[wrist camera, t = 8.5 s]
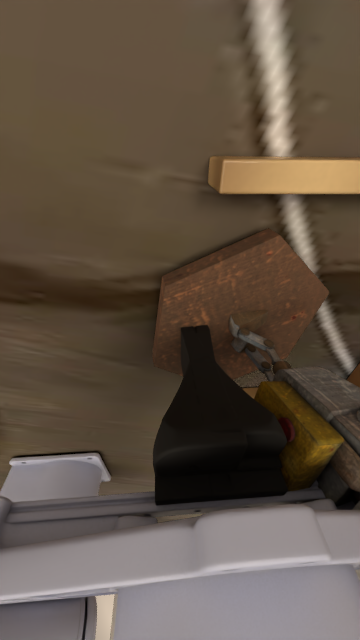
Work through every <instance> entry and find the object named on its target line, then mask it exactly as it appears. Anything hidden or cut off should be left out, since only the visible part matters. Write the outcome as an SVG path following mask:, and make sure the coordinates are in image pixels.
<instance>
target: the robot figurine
mask: <svg viewBox="0 0 360 640" xmlns="http://www.w3.org/2000/svg"><path fill="white" fill-rule="evenodd" d="M329 293H330V292H329V291H328V290H327V288H326V287H325V286H324V285H323V284H322V283H321V282H320V280H319V279H318V278H317V277H316V276H315V275H314V274H313V272H312V271H311V270H310V269H309V268H308V267H307V265H306V264H305V263H304V262H303V261H302V260H301V259H300V257H299V256H298V255H297V254H296V253H295V252H294V251H293V249H292V248H291V247H290V246H289V245H288V244H287V243H286V241H285V240H284V239H283V238H282V237H281V236H280V235H279V234H277V233H276V232H274V231H272V230H271V229H269V228H268V229H266V230H263V231H261V232H259V233H257V234H254V235H252V236H250V237H248V238H246V239H243V240H241V241H239V242H237V243H234V244H232V245H230V246H228V247H226V248H223V249H221V250H219V251H217V252H214V253H212V254H210V255H208V256H206V257H203V258H201V259H199V260H197V261H195V262H192V263H190V264H188V265H186V266H183V267H181V268H179V269H177V270H175V271H172V272H170V273H168V274H166V275H163V276H162V281H161V289H160V297H159V305H158V313H157V321H156V329H155V337H154V345H153V353H152V355H153V361H154V366H155V367H158V368H161V369H164V370H167V371H170V372H173V373H176V374H179V375H182V376H183V372H182V367H181V327H190V326H193V327H194V328H195V327H196V326H199V325H208V327H209V329H210V334H211V339H212V345H213V351H214V357H215V361H216V362H217V363H218V365H219V366H220V367H221V368H222V369H223V370H224V371H225V373H226V374H227V375H228V376H229V377H230V378H231V379H232V380H233V379H236V378H238V377H241V376H243V375H246V374H248V373H250V372H253V371H255V370H258V369H259V370H260V371H261V372H262V373H265V375H266V377H267V379H268V381H264V382H261V384H260V385H259V387H258V390H257V392H256V395H255V398H254V399H255V400H256V401H257V402H258V403H260V404H261V405H262V406H264V407H265V408H267V409H268V410H269V411H271V412H272V413H274V415H275V416H276V418H277V420H278V422H279V423H280V425H281V427H282V429H283V431H284V433H285V436H286V438H287V443H286V446H285V447H284V449H283V450H282V452H281V453H280V455H279V458H280V461H281V463H282V468H280V469H281V471H282V474H283V477H284V480H285V482H286V485H287V488H288V490H289V491H296V490H301V489H306V488H310V487H311V486H312V485H313V483H314V482H315V481H316V480H317V482H318V488H319V489H321V490H322V491H323V493H324V495H325V499H331V500H332V501H334V503H335V505H336V507H338V506H340V505H343V504H346V503H349V502H351V501H353V502H354V504H355V505H356V506H355V507H354V508H353V509H352V510H360V387H358V386H356V385H354V384H352V383H351V382H349V381H347V380H345V379H343V378H341V377H340V376H338V375H336V374H334V373H332V372H330V371H329V370H327V369H324V368H322V367H307V368H294V369H291V366H290V365H289V364H288V363H287V362H285V361H283V359H285V358H287V356H288V355H289V353H290V352H291V350H292V349H293V347H294V346H295V344H296V343H297V341H298V340H299V338H300V336H301V335H302V333H303V332H304V330H305V329H306V327H307V326H308V324H309V323H310V321H311V320H312V318H313V317H314V315H315V314H316V312H317V311H318V309H319V308H320V306H321V305H322V303H323V302H324V300H325V299H326V297H327V296H328V294H329ZM270 364H272V365H274V366H273V373H274V374H275V376H274V375H273V373H272V371H271V365H270ZM315 500H319V499H315ZM315 500H313V501H315Z"/></svg>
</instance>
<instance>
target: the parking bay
mask: <svg viewBox="0 0 360 640" xmlns="http://www.w3.org/2000/svg"><path fill="white" fill-rule="evenodd" d="M208 184H209V185H210V186H211V187H213V188H214V189H215V190H216V191H217V192H219V193H220V194H360V157H259V156H211V157H210V162H209V175H208ZM347 381H349V382H351V383H352V384H354V385H356V386H358V387H360V363H359V364H358V366H357V367H356V368H355V370H354V371H353V372H352V374H351V375H350V376H349V377H348V379H347ZM242 389H243V390H244V391H245V392H246V393H247V394H249V395H250V396H251V397H252V398H253V399H254V398H255V395H256V392H257V390H258V387H254V388H242Z"/></svg>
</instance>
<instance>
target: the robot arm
mask: <svg viewBox="0 0 360 640" xmlns="http://www.w3.org/2000/svg"><path fill="white" fill-rule="evenodd" d="M181 367H182V372H183V380H182V383H181V385H180V387H179V389H178V391H177V393H176V395H175V397H174V399H173V401H172V403H171V405H170V407H169V409H168V410H167V412H166V414H165V415H164V417H163V419H162V422H161V425H160V428H159V430H158V433H157V436H156V440H155V444H154V449H153V466H154V472H155V492H142V493H128V494H115V495H102V496H98V493H99V487H100V482H104V481H110V479H111V476H110V474H109V472H108V470H107V468H106V466H105V464H104V462H103V461H102V459H101V457H100V455H99V454H98V453H83V454H68V455H52V456H37V457H21V458H12V459H11V460H10V462H9V463H10V464H11V465H12V468H11V470H10V472H9V474H8V476H7V478H6V480H5V483H4V485H3V487H2V489H1V491H0V640H95V633H96V622H97V606H96V605H97V603H96V597H95V596H98V595H110V594H118V598H117V608H116V618H115V628H114V638H113V640H360V580H359V578H358V576H357V573H356V571H355V570H360V510H352V509H353V508H354V507H355V506H356V505H355V504H354V502H353V501H351V502H349V503H346V504H343V505H340V506H338V507H336V505H335V503H334V501H332V500H331V499H325V495H324V493H323V491H322V490H321V489H319V488H318V482H317V480H316V481H315V482H314V483H313V485H312V486H311V487H310V488H306V489H301V490H296V491H289V490H288V488H287V485H286V482H285V480H284V477H283V474H282V471H281V469H280V468H282V463H281V461H280V458H279V455H280V453H281V452H282V450H283V449H284V447H285V446H286V443H287V438H286V436H285V433H284V431H283V429H282V427H281V425H280V423H279V422H278V420H277V418H276V416H275V415H274V413H272V412H271V411H269V410H268V409H267V408H265V407H264V406H262V405H261V404H260V403H258V402H257V401H256V400H255V399H253V398H252V397H251V396H250V395H249V394H247V393H246V392H245V391H244V390H243V389H242V388H241V387H240V386H239V385H237V384H236V383H235V382H234V381H233V380H232V379H231V378H230V377H229V376H228V375H227V374H226V373H225V371H224V370H223V369H222V368H221V367H220V366H219V365H218V363H217V362H216V361H215V357H214V351H213V345H212V339H211V334H210V329H209V327H208V325H199V326H196V327H195V328H194V327H193V326H190V327H181ZM315 499H319V500H315ZM313 500H315V501H313ZM199 513H206V514H203V515H201V516H198V517H192V518H186V519H180V520H174V521H167V522H161V523H157V519H156V518H152V517H163V516H175V515H187V514H199Z"/></svg>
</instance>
